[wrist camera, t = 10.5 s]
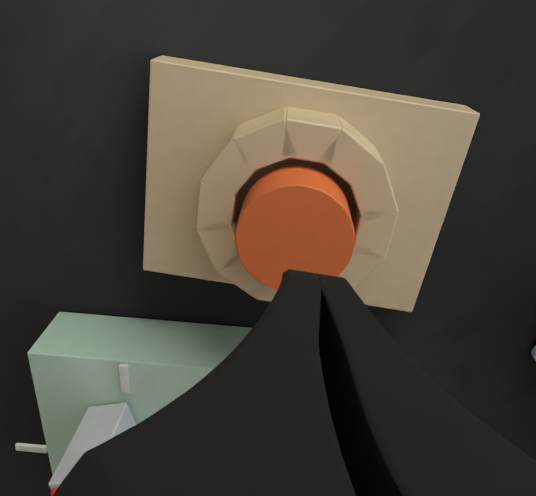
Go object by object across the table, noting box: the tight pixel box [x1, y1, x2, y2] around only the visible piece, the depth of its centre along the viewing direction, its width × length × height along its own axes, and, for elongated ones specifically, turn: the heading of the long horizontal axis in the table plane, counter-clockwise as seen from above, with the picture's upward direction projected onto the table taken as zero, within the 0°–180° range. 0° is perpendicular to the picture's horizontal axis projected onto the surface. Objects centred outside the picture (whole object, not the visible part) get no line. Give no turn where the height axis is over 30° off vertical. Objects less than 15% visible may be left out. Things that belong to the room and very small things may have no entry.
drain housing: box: [143, 55, 480, 312], centre depth 17 cm, size 11×8×4 cm
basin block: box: [15, 312, 252, 475], centre depth 23 cm, size 14×11×3 cm
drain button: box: [235, 165, 355, 290], centre depth 15 cm, size 4×4×2 cm
